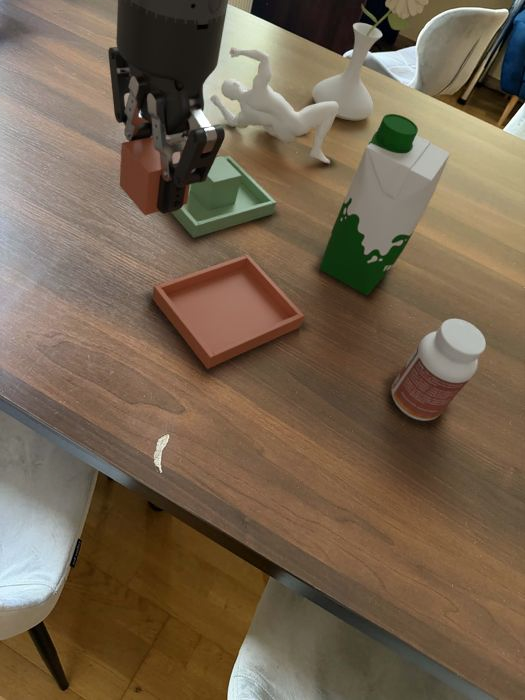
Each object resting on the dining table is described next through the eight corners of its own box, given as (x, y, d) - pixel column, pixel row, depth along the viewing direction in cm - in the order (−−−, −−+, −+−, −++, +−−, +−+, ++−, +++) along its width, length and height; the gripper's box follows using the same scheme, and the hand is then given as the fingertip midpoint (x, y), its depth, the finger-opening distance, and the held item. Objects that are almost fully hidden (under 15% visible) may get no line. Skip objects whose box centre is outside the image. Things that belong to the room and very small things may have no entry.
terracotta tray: (207, 369, 60) (210, 357, 59) (152, 298, 65) (153, 285, 63) (300, 327, 67) (305, 315, 66) (244, 265, 72) (248, 253, 70)
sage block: (208, 210, 76) (213, 182, 73) (189, 190, 78) (194, 162, 74) (235, 203, 78) (242, 175, 75) (216, 184, 80) (222, 155, 77)
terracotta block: (144, 215, 51) (148, 172, 47) (119, 186, 53) (121, 142, 49) (187, 204, 53) (193, 162, 50) (161, 176, 55) (166, 133, 52)
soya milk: (336, 237, 80) (394, 100, 65) (394, 268, 78) (467, 136, 63) (310, 269, 74) (366, 128, 59) (371, 304, 73) (445, 168, 58)
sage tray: (193, 238, 73) (195, 225, 71) (147, 186, 77) (149, 173, 76) (273, 213, 80) (276, 202, 78) (227, 167, 84) (229, 155, 83)
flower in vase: (305, 114, 99) (356, -51, 81) (313, 85, 107) (361, -72, 88) (377, 137, 100) (443, -21, 81) (379, 107, 108) (441, -44, 89)
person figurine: (339, 65, 89) (235, 32, 80) (362, 126, 84) (254, 99, 76) (298, 127, 99) (202, 104, 91) (316, 185, 95) (216, 167, 86)
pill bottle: (447, 425, 63) (501, 364, 55) (395, 420, 62) (442, 357, 53) (434, 379, 67) (483, 316, 59) (385, 373, 66) (428, 308, 57)
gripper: (74, -54, 41) (78, 156, 54) (184, 45, 35) (159, 253, 48) (165, -54, 45) (149, 142, 58) (278, 35, 39) (231, 230, 52)
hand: (154, 192), depth 53 cm, fingers closed on terracotta block, 4 cm apart
